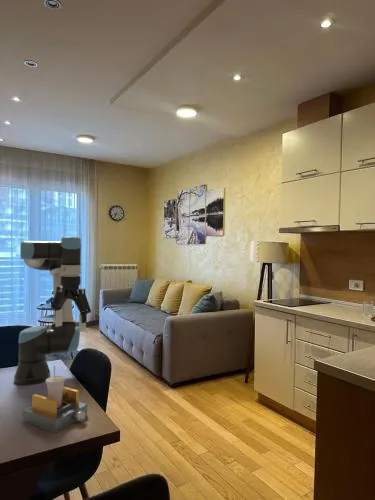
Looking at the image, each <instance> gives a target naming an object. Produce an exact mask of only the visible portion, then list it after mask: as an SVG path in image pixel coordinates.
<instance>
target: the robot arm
mask: <svg viewBox="0 0 375 500" xmlns="http://www.w3.org/2000/svg"><path fill="white" fill-rule="evenodd" d="M81 252H82V241H81V237H79V236H62V237H61V240H60V241H57V240H56V241H55V240H53V241H52V240H51V241H45V240H43V241H41V240H23V241H21V242H20V259H22V260H23V262H24V264H25V265H26V266H28V267H29V268H31V269H34V270H37V271H49V274H50V275H51V277H52V283H53V284H52V286H53V291H52V292H53V300H52V303H51V305H50V307H51V309H53V319H54V320H53V322H52V324H50V328H48V327H47V326H45V325H36V326H30V327H27V328H24V329H23V330H21V331H20V332H19V335H18V342H17V343H18V363H17V367H16V371H15V374H14V378H13V382H14V383H15V384H17V385H25V386H26V385H34V384H35V385H36V384H39V383H43V382H46V379H47V378H49V377H51V370H50V367H49V365H48V361H47V355H57V354H65V353H66V354H68V353H72V352H76V351H77V350H78V348H79V345H80V336H81V332H84V331H86V330H87V329H86V327H87V321H88V319H87V318H88V316H87V315H88V314H90V313H92V309H91V307H90V304H89V301H88V298H87V295H86V289H85V288H80V285H81V283H82V281H81V274H82V272H81V271H82V268H81V266H82V265H81V264H82V263H81V260H82V259H81V257H82V255H81V254H82V253H81ZM73 302H74V304H75V306H76V307H77V309H78V311H79V313H80V314H79V315H78V326H77V322H76V321H75V320H74V318H73Z"/></svg>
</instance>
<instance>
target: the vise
mask: <svg viewBox="0 0 375 500" xmlns="http://www.w3.org/2000/svg"><path fill="white" fill-rule="evenodd" d="M79 395H80V391H79V390H78V389H75V388H71V387H67V386H63V394H62V403H61V407H59V408H57V400H54V399H50V398H49V397H48V396H43V395H39V394H37V393H34V394H32V395H31V396H32V397H31V398H32V399H31V401H32V402H31V406H29V407H26V408H25V409H24V408H23V415H22V416H23V422H24V423H27V424H30V425H32V426H35V427H38V428H41V429H42V430H47V431H48V432H51V433H55V434H56V433H58V432H60V431H61V430H64V429H65V428H67V427H70V426H71V425H73V424H74V423H76V422H80V423H82V422H84V421H85V420H86V418H87V416H88V404H87V403H84V402H80V400H79V399H80V396H79Z"/></svg>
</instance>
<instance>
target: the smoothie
mask: <svg viewBox="0 0 375 500" xmlns="http://www.w3.org/2000/svg"><path fill="white" fill-rule="evenodd" d="M65 382H66V377H65V376H63V375H56V366H55V365H53V376H50V377H49V378H47V379H46V381H45V384H46V388H47V394H48V395H47V397H48V398H50V399H54V400H57V408H59V407H61V403H62V394H63V386H64V385H65ZM64 387H65V386H64Z"/></svg>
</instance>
